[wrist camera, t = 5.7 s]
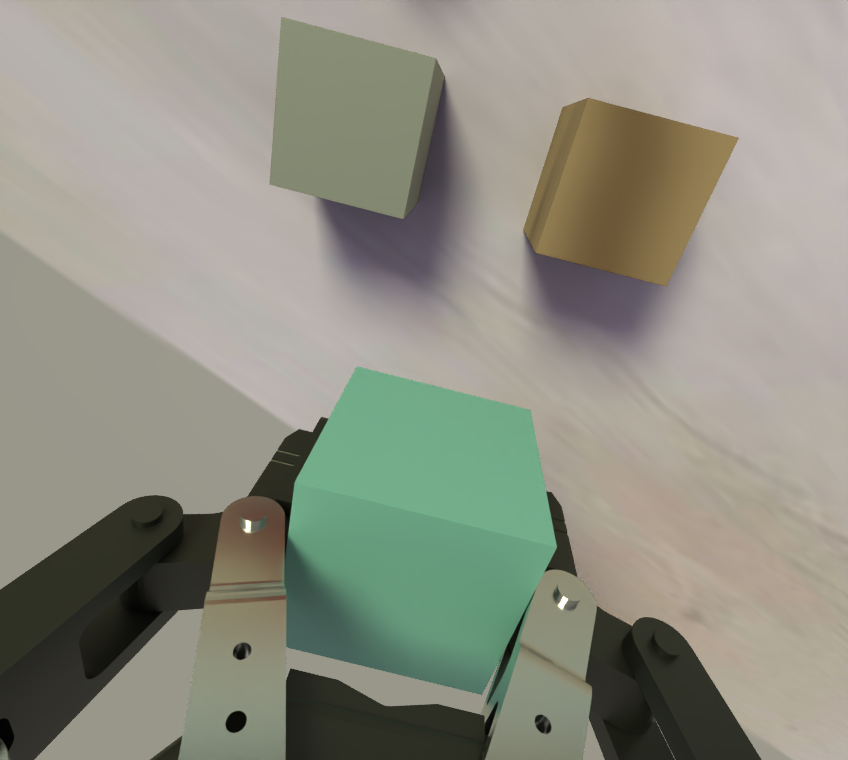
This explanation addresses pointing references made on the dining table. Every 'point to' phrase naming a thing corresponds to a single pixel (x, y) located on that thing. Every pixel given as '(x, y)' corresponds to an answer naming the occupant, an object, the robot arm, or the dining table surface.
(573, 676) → the robot arm
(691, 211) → the brass block
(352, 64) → the grey-green rectangular block
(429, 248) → the dining table surface
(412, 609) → the teal block
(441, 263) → the dining table surface
